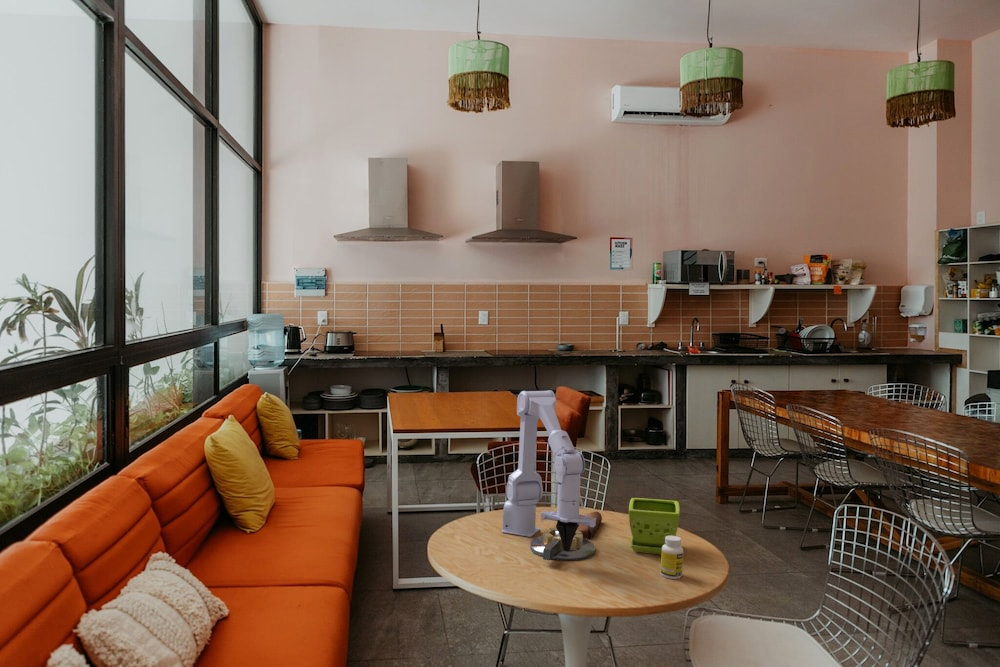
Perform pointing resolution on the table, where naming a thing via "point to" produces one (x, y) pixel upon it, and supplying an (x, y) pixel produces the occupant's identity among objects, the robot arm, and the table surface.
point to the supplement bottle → (672, 558)
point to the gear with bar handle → (558, 543)
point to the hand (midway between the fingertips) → (567, 549)
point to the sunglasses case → (588, 530)
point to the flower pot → (652, 523)
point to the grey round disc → (570, 555)
